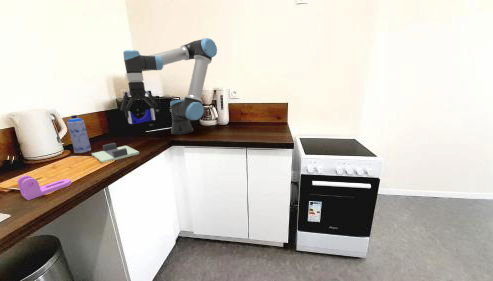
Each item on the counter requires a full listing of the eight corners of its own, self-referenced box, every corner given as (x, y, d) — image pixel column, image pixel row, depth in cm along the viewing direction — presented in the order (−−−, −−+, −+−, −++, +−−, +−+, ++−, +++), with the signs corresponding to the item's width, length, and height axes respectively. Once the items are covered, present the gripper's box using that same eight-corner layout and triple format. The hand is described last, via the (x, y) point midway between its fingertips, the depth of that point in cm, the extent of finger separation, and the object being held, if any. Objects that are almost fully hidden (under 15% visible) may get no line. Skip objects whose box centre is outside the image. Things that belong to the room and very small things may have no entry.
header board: (126, 147, 125) (125, 140, 124) (139, 153, 113) (137, 146, 112) (92, 155, 113) (90, 148, 112) (102, 163, 101) (100, 155, 100)
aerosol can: (93, 147, 127) (84, 113, 122) (88, 151, 120) (79, 115, 114) (77, 149, 125) (67, 115, 119) (72, 153, 117) (61, 117, 112)
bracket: (28, 200, 71) (21, 181, 69) (22, 196, 74) (15, 178, 72) (74, 184, 82) (69, 167, 80) (67, 181, 85) (62, 164, 83)
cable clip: (132, 124, 117) (130, 113, 115) (128, 123, 119) (126, 112, 118) (153, 120, 126) (151, 110, 124) (149, 119, 128) (147, 109, 127)
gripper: (154, 81, 126) (160, 117, 132) (108, 82, 109) (116, 124, 115) (161, 80, 121) (166, 119, 127) (112, 82, 104) (121, 126, 110)
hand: (142, 121), depth 121 cm, fingers closed on cable clip, 12 cm apart
